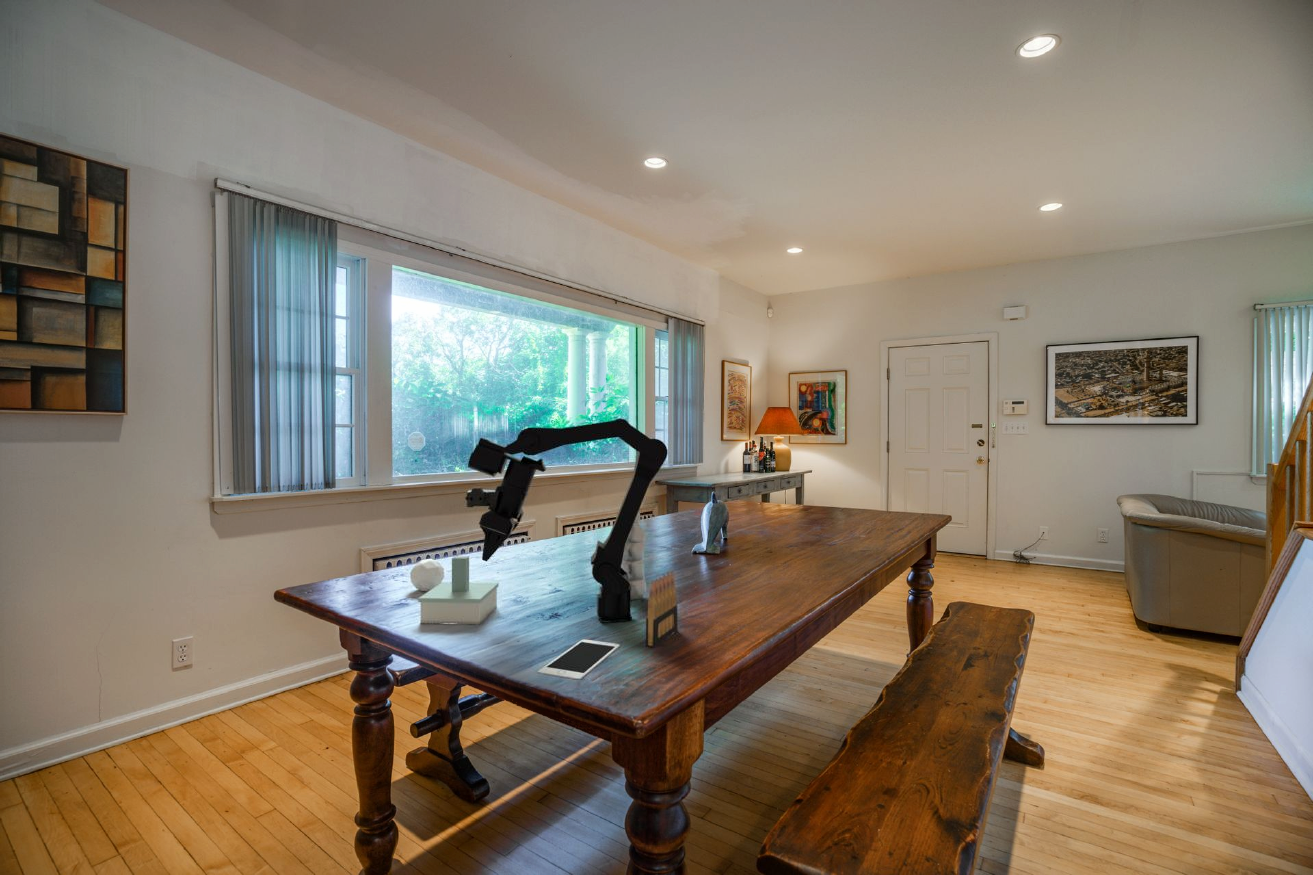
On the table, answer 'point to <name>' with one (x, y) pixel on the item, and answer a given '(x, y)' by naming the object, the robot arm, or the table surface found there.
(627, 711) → the table surface
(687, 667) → the table surface
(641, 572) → the plastic bottle
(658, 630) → the ammunition clip
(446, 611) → the tub
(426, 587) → the geometric ball
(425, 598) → the lid
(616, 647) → the cell phone
